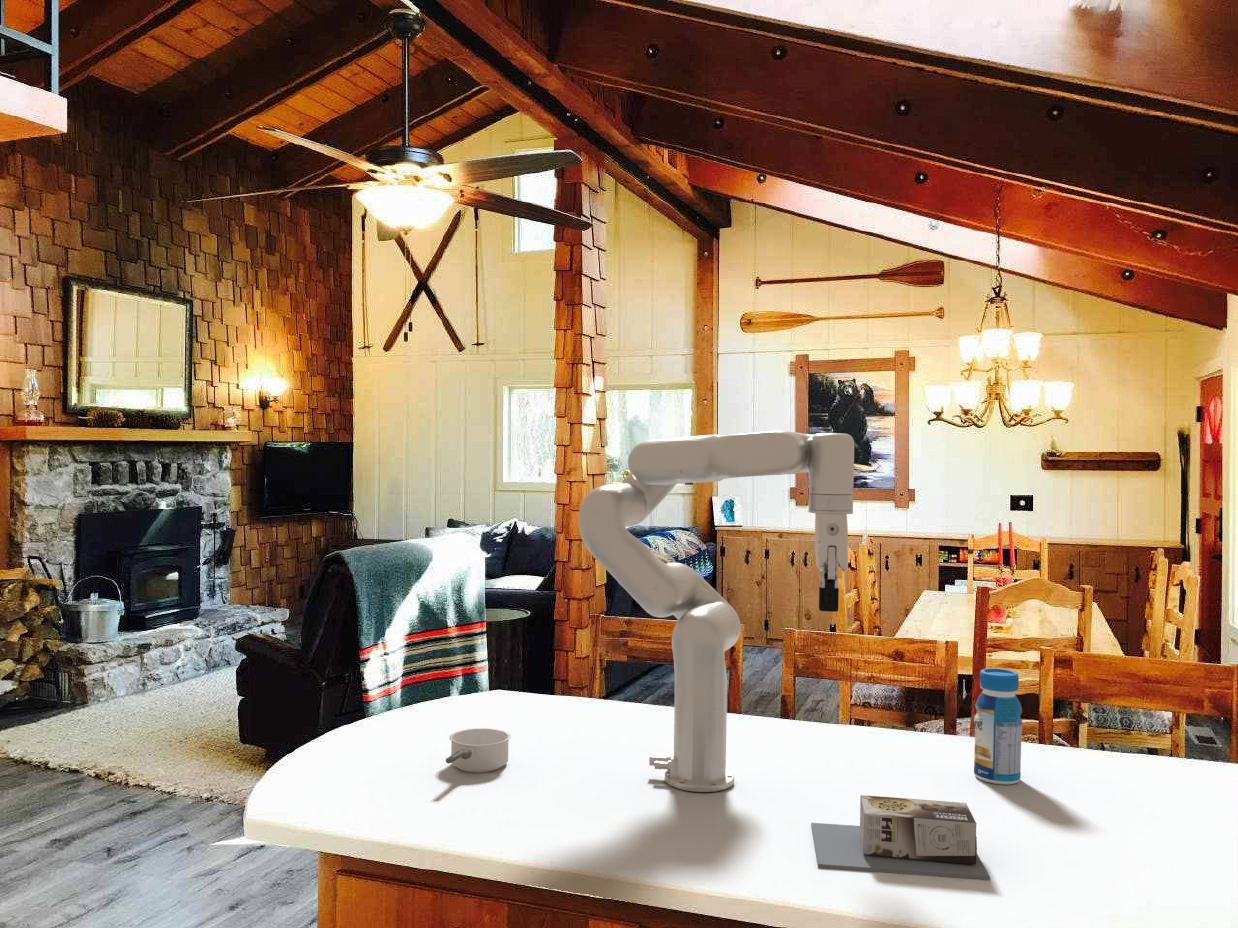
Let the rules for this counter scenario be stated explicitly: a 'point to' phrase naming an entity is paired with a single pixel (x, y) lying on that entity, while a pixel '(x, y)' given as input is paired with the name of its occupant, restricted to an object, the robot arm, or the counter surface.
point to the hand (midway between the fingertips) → (828, 610)
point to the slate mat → (845, 852)
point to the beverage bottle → (998, 728)
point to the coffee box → (918, 829)
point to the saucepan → (479, 749)
